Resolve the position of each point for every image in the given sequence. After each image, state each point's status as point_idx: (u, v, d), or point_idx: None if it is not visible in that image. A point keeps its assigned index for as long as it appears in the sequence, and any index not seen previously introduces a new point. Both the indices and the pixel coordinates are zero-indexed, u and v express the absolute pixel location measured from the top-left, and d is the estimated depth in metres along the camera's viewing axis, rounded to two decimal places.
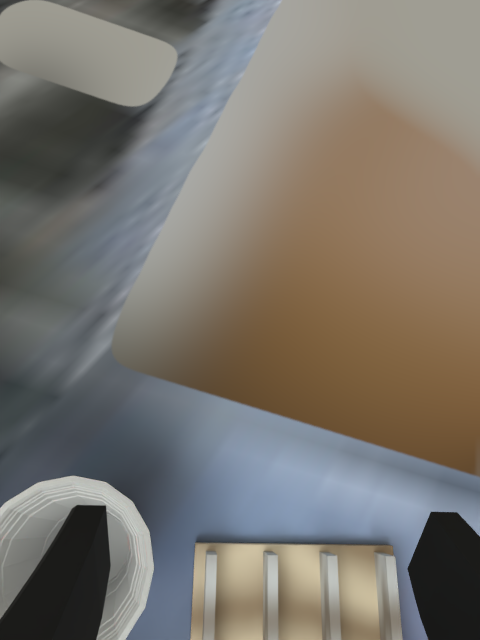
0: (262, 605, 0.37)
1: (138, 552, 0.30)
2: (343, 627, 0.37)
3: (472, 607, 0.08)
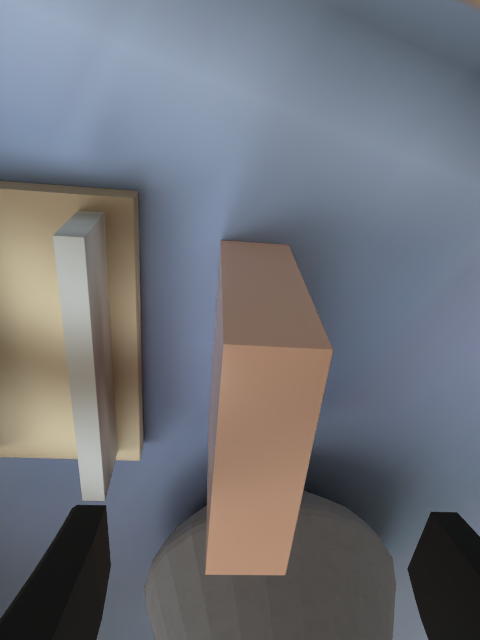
0: None
1: None
2: (5, 355, 0.16)
3: (472, 607, 0.08)
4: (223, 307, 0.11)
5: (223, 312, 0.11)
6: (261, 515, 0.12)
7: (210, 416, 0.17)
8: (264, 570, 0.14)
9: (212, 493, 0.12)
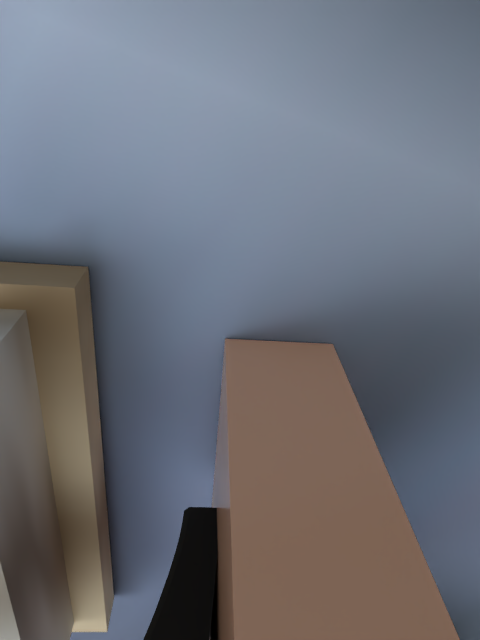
0: None
1: None
2: None
3: None
4: (234, 567, 0.05)
5: (234, 591, 0.05)
6: None
7: None
8: None
9: None
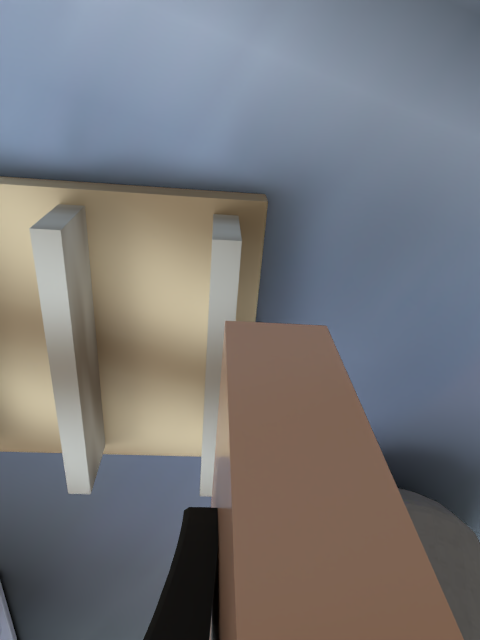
0: None
1: None
2: (124, 355, 0.17)
3: None
4: (233, 511, 0.06)
5: (234, 530, 0.06)
6: None
7: None
8: None
9: None
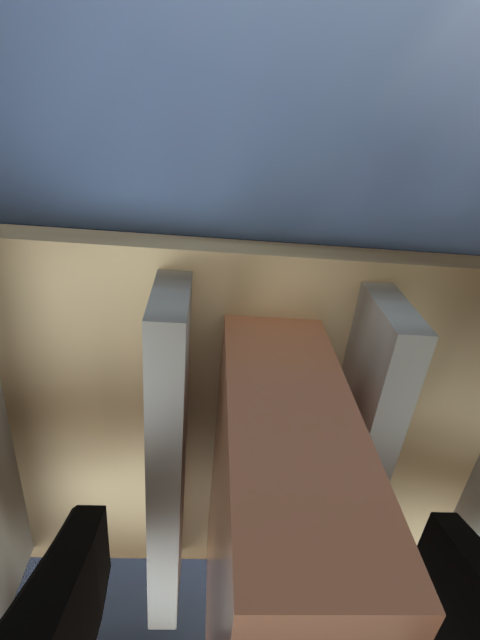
0: None
1: None
2: None
3: (472, 607, 0.08)
4: (231, 486, 0.07)
5: (232, 501, 0.06)
6: None
7: (209, 553, 0.12)
8: None
9: None
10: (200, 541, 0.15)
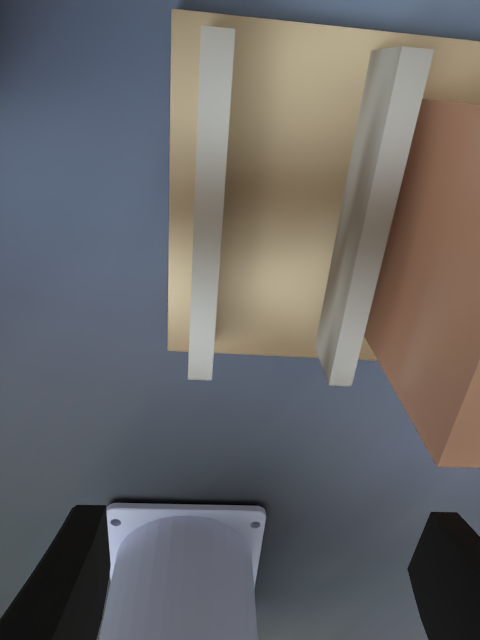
0: (343, 189, 0.15)
1: None
2: None
3: (472, 607, 0.08)
4: None
5: None
6: None
7: (387, 311, 0.15)
8: None
9: None
10: None
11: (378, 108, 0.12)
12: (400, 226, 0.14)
